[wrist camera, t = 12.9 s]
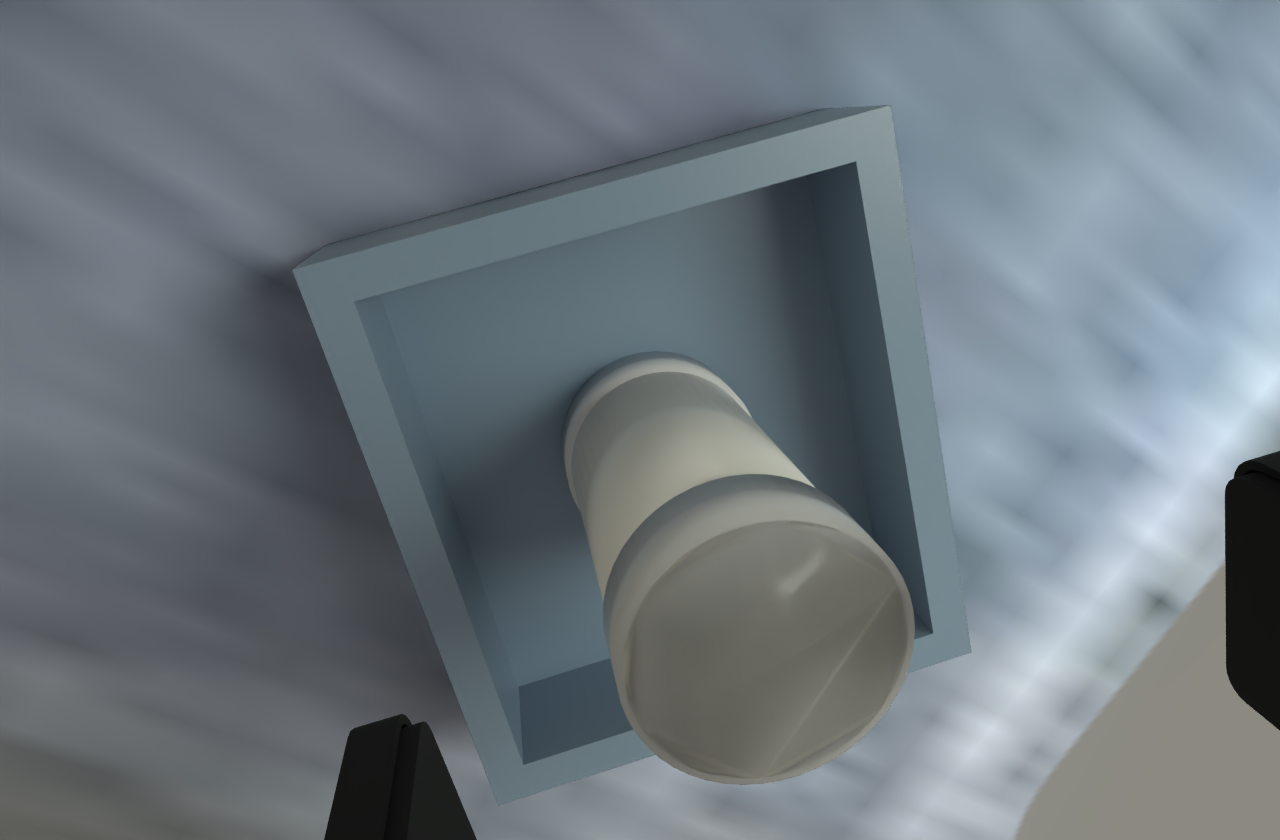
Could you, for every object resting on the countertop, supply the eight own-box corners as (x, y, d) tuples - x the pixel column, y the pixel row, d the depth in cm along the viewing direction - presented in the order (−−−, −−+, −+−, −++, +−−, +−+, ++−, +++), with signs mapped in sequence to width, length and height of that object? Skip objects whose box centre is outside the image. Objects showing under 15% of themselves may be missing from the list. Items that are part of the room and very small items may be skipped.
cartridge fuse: (720, 328, 20) (890, 473, 12) (758, 495, 22) (933, 731, 13) (539, 381, 20) (579, 568, 12) (588, 546, 21) (657, 822, 13)
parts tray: (822, 108, 20) (890, 105, 16) (904, 579, 24) (971, 652, 20) (325, 245, 19) (292, 269, 16) (496, 708, 23) (498, 805, 20)
